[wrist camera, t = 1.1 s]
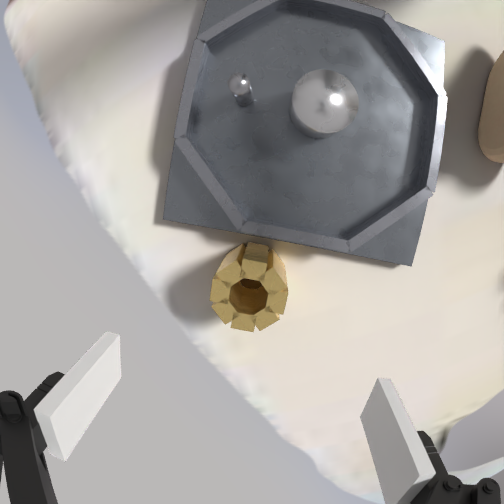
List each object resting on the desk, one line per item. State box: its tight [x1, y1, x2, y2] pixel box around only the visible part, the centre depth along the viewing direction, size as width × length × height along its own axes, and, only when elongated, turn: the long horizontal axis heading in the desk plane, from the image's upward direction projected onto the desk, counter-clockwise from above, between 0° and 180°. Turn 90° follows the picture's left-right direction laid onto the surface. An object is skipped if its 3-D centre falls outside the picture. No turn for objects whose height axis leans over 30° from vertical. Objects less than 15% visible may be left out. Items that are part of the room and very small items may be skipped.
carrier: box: [163, 0, 447, 266], centre depth 24 cm, size 24×24×6 cm
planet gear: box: [210, 242, 288, 332], centre depth 28 cm, size 6×6×6 cm
